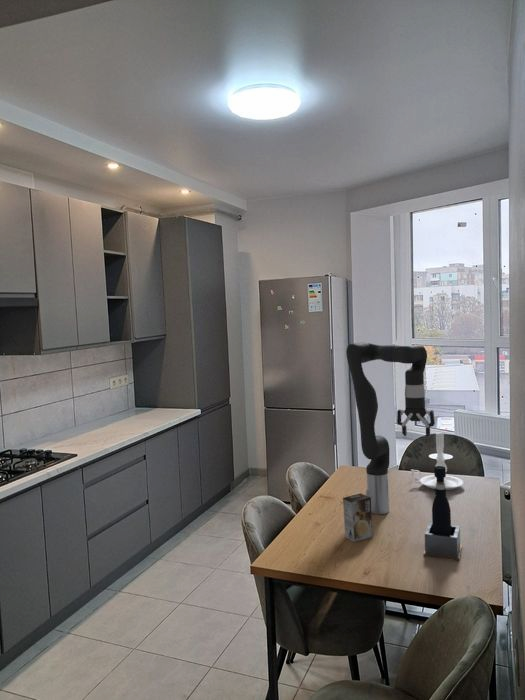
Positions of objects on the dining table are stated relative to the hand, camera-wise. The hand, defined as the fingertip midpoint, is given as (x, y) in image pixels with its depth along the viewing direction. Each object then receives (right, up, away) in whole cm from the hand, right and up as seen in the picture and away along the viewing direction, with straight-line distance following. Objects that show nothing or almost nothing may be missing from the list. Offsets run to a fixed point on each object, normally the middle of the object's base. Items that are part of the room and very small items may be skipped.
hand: (416, 435), depth 213 cm
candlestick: (+25, -34, +52) cm, 67 cm away
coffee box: (-23, -40, -2) cm, 46 cm away
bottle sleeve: (+4, -39, -19) cm, 43 cm away
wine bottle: (+4, -38, -19) cm, 43 cm away
